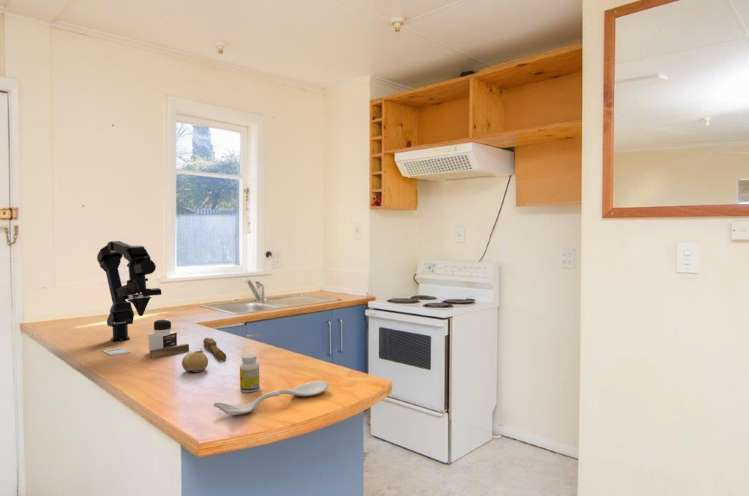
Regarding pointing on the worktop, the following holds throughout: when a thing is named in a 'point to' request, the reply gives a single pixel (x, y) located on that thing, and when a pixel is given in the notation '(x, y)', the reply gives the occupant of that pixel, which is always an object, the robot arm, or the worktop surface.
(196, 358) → the onion
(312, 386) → the spoon
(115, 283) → the robot arm
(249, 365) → the supplement bottle
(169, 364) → the worktop surface
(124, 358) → the worktop surface
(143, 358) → the worktop surface
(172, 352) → the stop bar
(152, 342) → the medicine bottle
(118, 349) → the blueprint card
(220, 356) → the tap handle
